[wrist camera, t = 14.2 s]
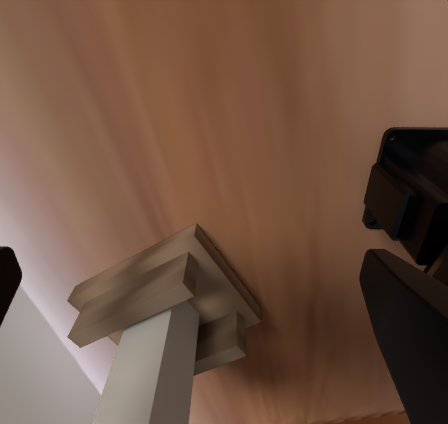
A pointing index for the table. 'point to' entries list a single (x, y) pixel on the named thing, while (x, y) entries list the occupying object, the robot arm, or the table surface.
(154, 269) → the beige rail channel
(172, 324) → the beige rectangular block
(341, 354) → the table surface
